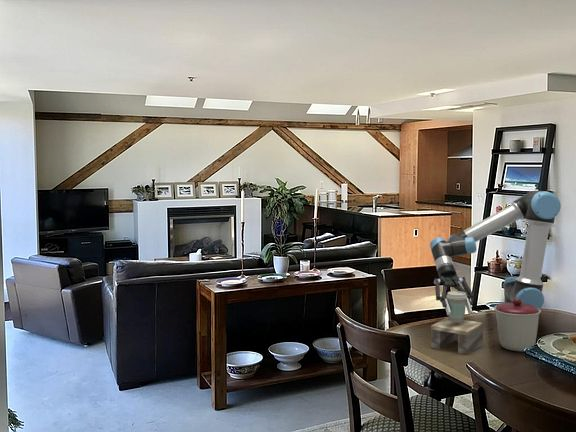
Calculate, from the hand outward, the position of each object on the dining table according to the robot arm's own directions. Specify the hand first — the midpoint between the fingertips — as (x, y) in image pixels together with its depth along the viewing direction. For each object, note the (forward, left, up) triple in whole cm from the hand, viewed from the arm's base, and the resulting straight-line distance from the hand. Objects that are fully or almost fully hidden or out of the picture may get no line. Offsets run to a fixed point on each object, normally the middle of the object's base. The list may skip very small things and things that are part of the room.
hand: (459, 312), depth 231 cm
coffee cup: (+2, -2, -4) cm, 6 cm away
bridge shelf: (+2, -2, -15) cm, 16 cm away
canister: (-19, -14, -15) cm, 28 cm away
